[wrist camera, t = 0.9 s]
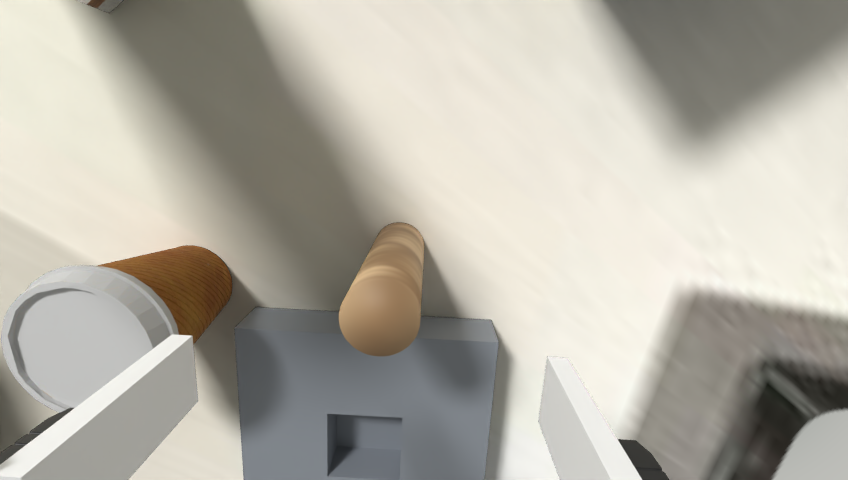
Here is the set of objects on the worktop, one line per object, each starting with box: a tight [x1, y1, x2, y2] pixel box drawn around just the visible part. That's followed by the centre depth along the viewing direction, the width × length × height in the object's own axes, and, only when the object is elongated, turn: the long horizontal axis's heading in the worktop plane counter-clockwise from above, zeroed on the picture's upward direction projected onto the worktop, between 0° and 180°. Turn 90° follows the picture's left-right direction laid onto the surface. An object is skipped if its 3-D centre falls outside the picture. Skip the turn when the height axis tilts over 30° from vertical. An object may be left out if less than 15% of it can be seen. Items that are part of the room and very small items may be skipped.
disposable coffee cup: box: [1, 246, 232, 413], centre depth 29 cm, size 10×10×12 cm
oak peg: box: [339, 222, 424, 357], centre depth 27 cm, size 4×4×14 cm
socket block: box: [234, 307, 499, 480], centre depth 36 cm, size 20×20×4 cm
